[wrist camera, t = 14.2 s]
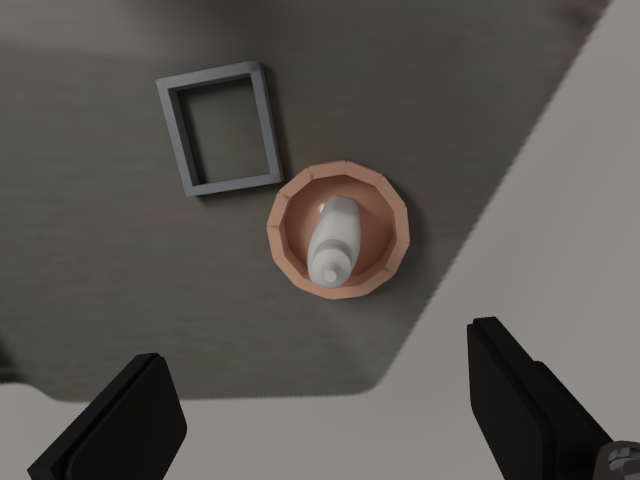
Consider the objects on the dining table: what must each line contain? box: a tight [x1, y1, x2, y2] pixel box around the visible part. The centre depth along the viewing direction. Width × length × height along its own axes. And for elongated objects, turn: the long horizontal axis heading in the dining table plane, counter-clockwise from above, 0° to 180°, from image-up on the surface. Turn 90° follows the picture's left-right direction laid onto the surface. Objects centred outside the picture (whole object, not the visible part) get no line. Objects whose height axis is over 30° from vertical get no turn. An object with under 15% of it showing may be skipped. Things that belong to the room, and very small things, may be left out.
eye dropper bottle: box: [307, 195, 361, 289], centre depth 24 cm, size 4×6×12 cm
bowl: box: [267, 159, 410, 300], centre depth 29 cm, size 11×11×4 cm
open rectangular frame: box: [156, 59, 284, 197], centre depth 29 cm, size 10×9×2 cm
